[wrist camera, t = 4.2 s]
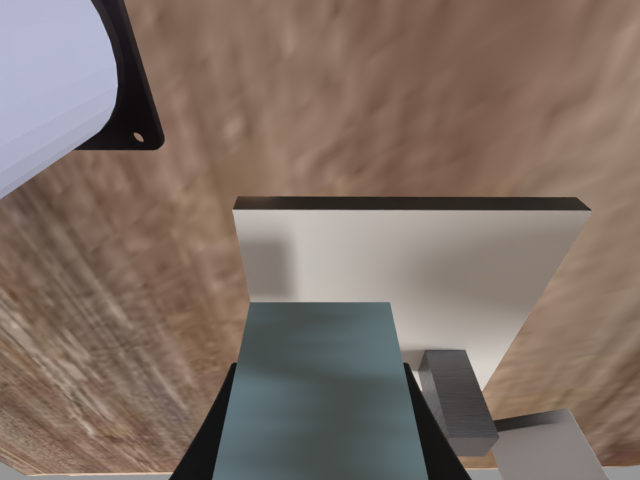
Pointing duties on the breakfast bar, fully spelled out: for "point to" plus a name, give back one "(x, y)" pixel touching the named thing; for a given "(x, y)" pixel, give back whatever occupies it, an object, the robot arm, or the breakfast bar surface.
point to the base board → (413, 262)
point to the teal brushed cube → (320, 397)
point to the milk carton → (544, 448)
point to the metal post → (457, 402)
